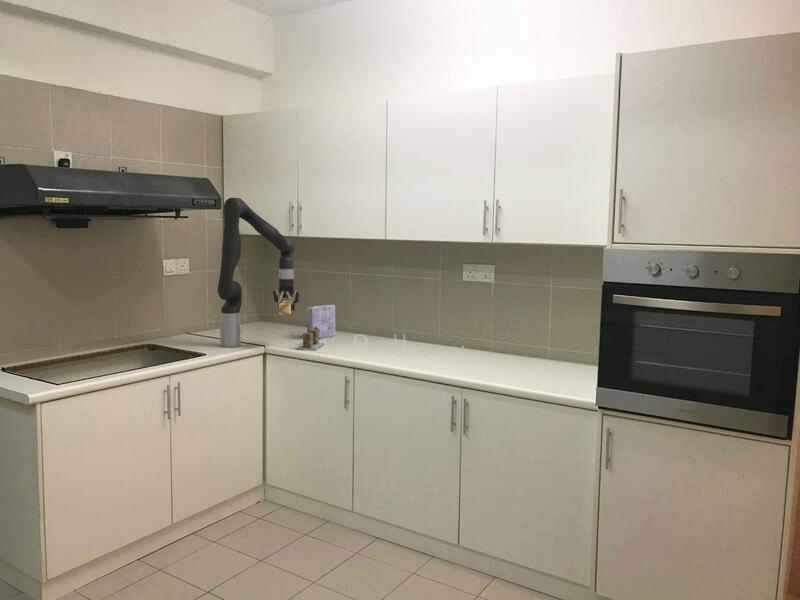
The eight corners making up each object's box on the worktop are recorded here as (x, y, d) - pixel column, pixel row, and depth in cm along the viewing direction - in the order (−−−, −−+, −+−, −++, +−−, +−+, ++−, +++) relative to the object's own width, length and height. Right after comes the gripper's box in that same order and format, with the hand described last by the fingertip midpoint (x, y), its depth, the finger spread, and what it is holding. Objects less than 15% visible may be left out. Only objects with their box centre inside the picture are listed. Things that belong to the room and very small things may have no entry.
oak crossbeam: (279, 314, 320) (278, 304, 319) (284, 310, 334) (284, 300, 334) (289, 314, 320) (289, 304, 319) (293, 310, 335) (293, 300, 334)
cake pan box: (331, 334, 366) (331, 303, 364) (337, 335, 363) (337, 304, 361) (306, 339, 351) (305, 307, 349) (312, 340, 348) (312, 307, 346)
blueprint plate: (296, 349, 323) (296, 347, 323) (306, 344, 337) (306, 342, 337) (316, 350, 321) (316, 348, 321) (324, 345, 335) (324, 343, 335)
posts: (303, 347, 323) (302, 333, 322) (311, 342, 336) (311, 329, 335) (310, 348, 322) (310, 334, 321) (318, 343, 335) (318, 329, 334)
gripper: (270, 277, 323) (270, 311, 325) (297, 278, 320) (297, 312, 322) (275, 276, 330) (275, 309, 332) (302, 277, 327) (302, 310, 329)
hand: (286, 310), depth 327 cm, fingers closed on oak crossbeam, 5 cm apart
